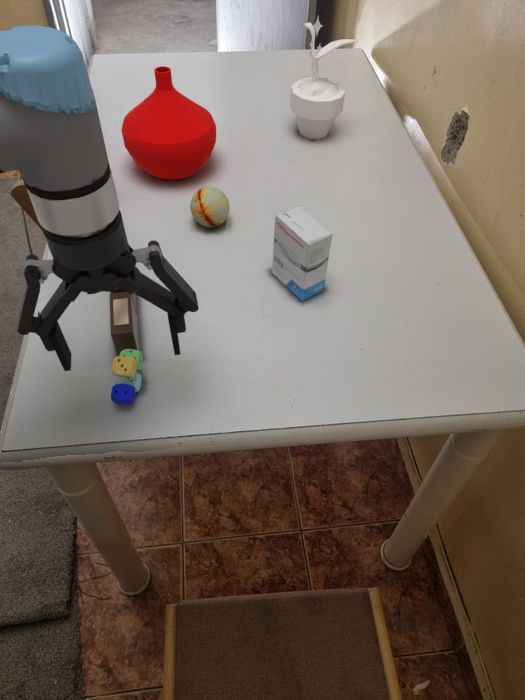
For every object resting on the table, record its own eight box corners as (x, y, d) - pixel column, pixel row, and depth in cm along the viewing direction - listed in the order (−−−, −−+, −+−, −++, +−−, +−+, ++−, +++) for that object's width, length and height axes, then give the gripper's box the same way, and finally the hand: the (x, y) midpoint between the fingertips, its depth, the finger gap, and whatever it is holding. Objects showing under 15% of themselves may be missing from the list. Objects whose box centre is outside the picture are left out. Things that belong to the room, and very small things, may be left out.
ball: (235, 216, 97) (234, 183, 92) (222, 238, 93) (220, 205, 87) (200, 208, 98) (197, 175, 93) (185, 230, 94) (182, 197, 89)
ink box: (324, 290, 85) (334, 233, 76) (300, 302, 83) (308, 244, 74) (293, 261, 89) (299, 203, 80) (270, 272, 87) (273, 213, 78)
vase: (201, 137, 115) (194, 44, 100) (230, 181, 104) (228, 83, 90) (119, 153, 110) (100, 56, 95) (141, 200, 99) (124, 100, 85)
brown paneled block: (118, 361, 74) (110, 333, 70) (116, 281, 85) (108, 252, 80) (139, 359, 75) (132, 331, 70) (134, 279, 85) (128, 250, 81)
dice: (133, 413, 69) (125, 385, 64) (114, 412, 69) (104, 384, 64) (146, 366, 74) (139, 336, 69) (128, 364, 74) (119, 335, 69)
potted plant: (284, 143, 114) (293, 15, 95) (291, 118, 122) (300, -6, 102) (341, 149, 113) (362, 21, 94) (344, 124, 121) (364, 0, 101)
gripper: (205, 181, 53) (215, 320, 70) (-52, 206, 50) (23, 346, 66) (215, 225, 49) (224, 363, 65) (-67, 256, 45) (18, 393, 62)
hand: (123, 354), depth 66 cm, fingers open, 13 cm apart
